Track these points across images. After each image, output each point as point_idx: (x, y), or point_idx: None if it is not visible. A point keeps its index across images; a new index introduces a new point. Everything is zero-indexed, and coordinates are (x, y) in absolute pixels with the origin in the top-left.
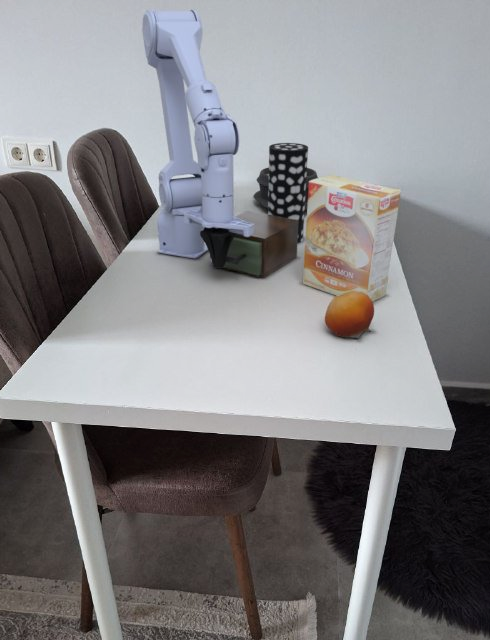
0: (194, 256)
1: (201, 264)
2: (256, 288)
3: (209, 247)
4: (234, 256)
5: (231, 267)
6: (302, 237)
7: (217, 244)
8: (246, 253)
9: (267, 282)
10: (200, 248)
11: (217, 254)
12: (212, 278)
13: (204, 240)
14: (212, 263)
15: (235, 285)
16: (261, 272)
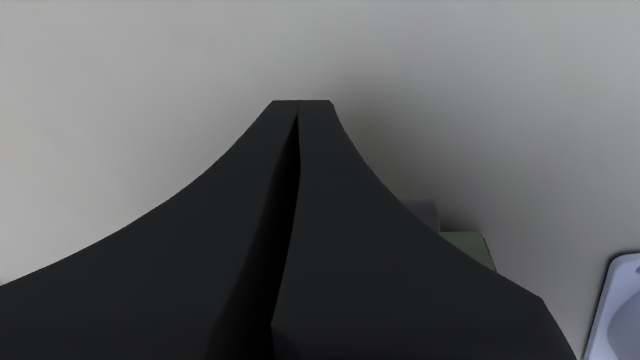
0: (631, 265)
1: (555, 223)
2: (73, 128)
3: (345, 194)
4: None
5: None
6: None
7: (157, 237)
8: None
9: (101, 214)
10: (625, 329)
11: (233, 159)
12: (391, 106)
13: (431, 247)
14: (475, 234)
15: (198, 98)
16: None
